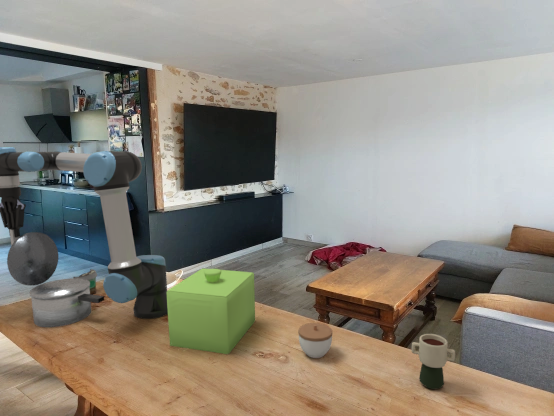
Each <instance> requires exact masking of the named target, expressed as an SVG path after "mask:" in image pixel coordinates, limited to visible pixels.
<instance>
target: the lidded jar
mask: <svg viewBox="0 0 554 416" xmlns="http://www.w3.org/2000/svg"><path fill="white" fill-rule="evenodd" d="M332 341H333V329H332V328H331V327H330V326H329V325H327V324H325V323H320V322H309V323H304V324H302V325H301V326H300V327H299V328H298V342H299V343H298V344H299V346H300V348H301V350H302V351H303V353H305V355H306V356H308V357H310V358H312V359H320V358H323V357H324V356H325V355H326V354H327V353H328V352H329V350H330V349H331V346H332Z"/></svg>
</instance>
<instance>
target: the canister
mask: <svg viewBox="0 0 554 416" xmlns="http://www.w3.org/2000/svg"><path fill="white" fill-rule="evenodd" d="M255 292H256V291H255V273H254V272H253V271H252V272H250V271H241V270H240V271H239V270H227V269H226V270H225V269H219V268H201V269H199V270H197V271H196V272H194V273H193V274H191V275H190V276H188V277H186V278H184V279H183V280H181V281H180V282H179V283H177V284H175V285H174V286H172V287H171V288H169V289H167V308H168V314H167V322H168V323H167V325H168V338H169V340H168V342H169V346H170V347H176V348H184V349H190V350H197V351H204V352H209V353H211V352H212V353H217V354H223V355H230V354H231V352H232V351H233V350H234V348H235V347H236V346H237V345H238V344H239V342H240V341H241V340H242V339H243V337H244V336H245V335H246V333H247V332H248V331H249V330H250V328H251V327H252V326H253V325H254V324H255V322H256V301H255V300H256V299H255V298H256V297H255V296H256V295H255V294H256V293H255Z"/></svg>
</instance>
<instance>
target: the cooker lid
mask: <svg viewBox="0 0 554 416" xmlns="http://www.w3.org/2000/svg"><path fill="white" fill-rule="evenodd" d="M6 260H7V261H6V263H7V270H8V272H9V274H10V276H11V277H12V278H13V279H14V281H15V282H17V283H18V284H21V285H23V286H32V287H33V286H38V285H41V284H44V283H46V282H47V281H48V280H49V279H51V278H52V277H53V275H54V273H55V272H56V269H57V268H58V263H59V249H58V247H57V245H56V242H55V241H54V240H53V239H52V238H51V237H50V236H49V235H48V234H45V233H43V232H36V231H34V232H33V231H32V232H27V233H24V234H22V235H20V237H19V238H18V239H16V241H15V242H14V243H13V244H12V245H11V246H10V248H9V250H8V253H7V259H6Z"/></svg>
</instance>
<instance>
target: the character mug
mask: <svg viewBox="0 0 554 416" xmlns="http://www.w3.org/2000/svg"><path fill="white" fill-rule="evenodd" d="M448 344H449V342H448V340H447V339H446V338H445V337H443V336H442V335H440V334H435V333H423V334H422V335H420V336H419V341H418V342H415V341H413V342H412V343H411V353H412V354H414V355H418V360H419V362H420V363H421V368H420V370H419V371H420V372H419V378H418V379H419V382H420V384H422V386H424V387H426V388H428V389H432V390H435V389H436V390H438V389H441V388H443V386H444V385H445V379H444V370H443V367H445V366H446V364H447V362H455V360H456V351H455V349H453V348H448V347H449V345H448ZM416 347H418V350H416ZM448 353H450V356H448Z"/></svg>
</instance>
